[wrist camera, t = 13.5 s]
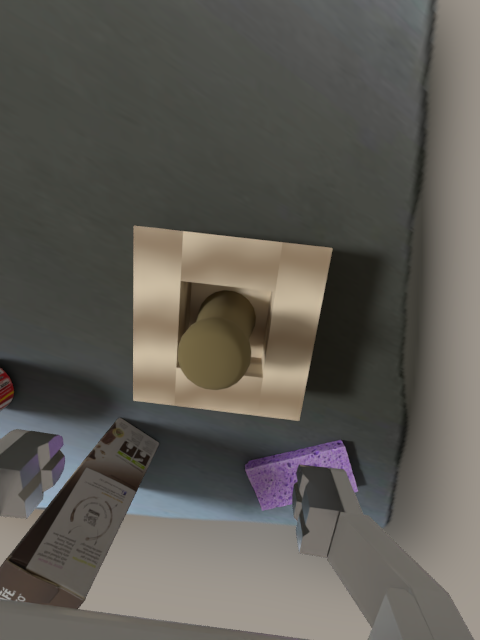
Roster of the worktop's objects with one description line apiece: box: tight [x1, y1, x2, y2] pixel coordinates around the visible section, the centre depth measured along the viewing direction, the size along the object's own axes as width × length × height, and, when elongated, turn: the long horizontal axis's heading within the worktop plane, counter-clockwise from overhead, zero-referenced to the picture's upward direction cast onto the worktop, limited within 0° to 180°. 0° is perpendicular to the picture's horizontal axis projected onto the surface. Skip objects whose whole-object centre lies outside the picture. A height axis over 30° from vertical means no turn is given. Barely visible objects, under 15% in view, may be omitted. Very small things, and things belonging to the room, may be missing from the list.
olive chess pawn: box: [178, 290, 256, 390], centre depth 23 cm, size 6×6×11 cm
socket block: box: [133, 226, 333, 421], centre depth 27 cm, size 16×16×6 cm
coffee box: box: [0, 418, 159, 609], centre depth 28 cm, size 9×6×16 cm
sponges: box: [245, 440, 358, 510], centre depth 35 cm, size 7×13×2 cm, turn 108°
